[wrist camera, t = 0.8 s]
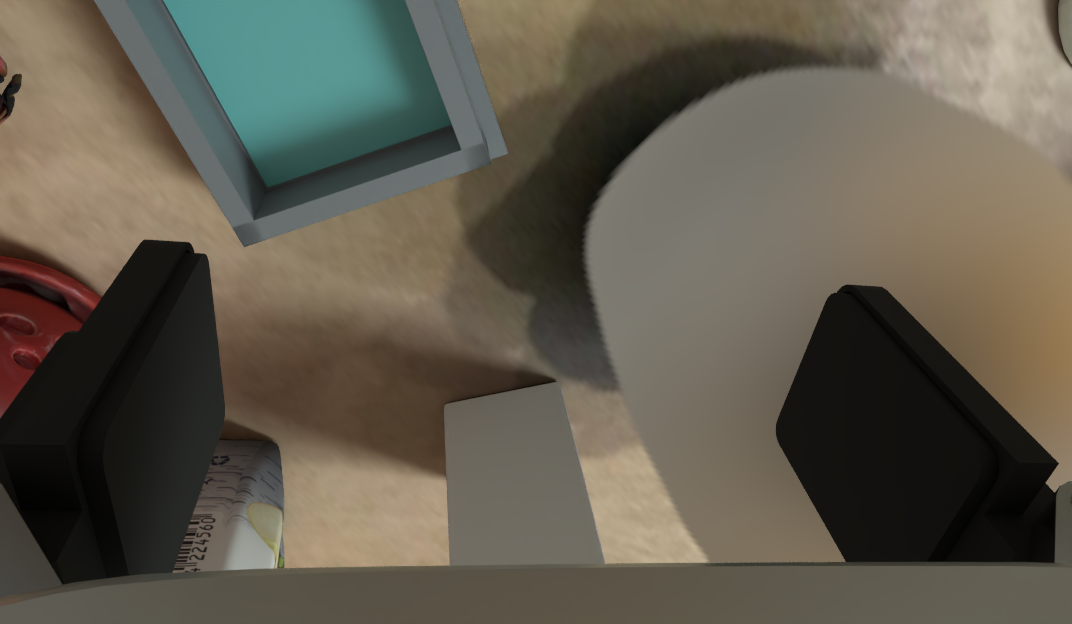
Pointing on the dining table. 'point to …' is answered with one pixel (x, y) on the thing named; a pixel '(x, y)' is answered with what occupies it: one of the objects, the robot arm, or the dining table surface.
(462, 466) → the milk carton
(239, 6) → the gray divided sorting tray
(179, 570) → the juice carton
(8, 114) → the dragon fruit
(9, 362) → the plant pot
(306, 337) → the dining table surface
